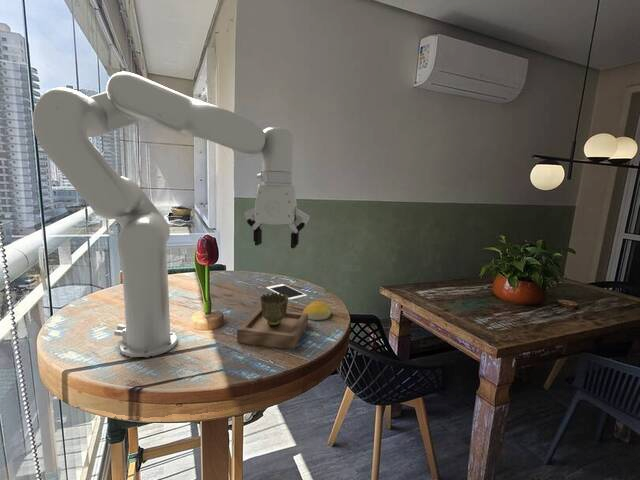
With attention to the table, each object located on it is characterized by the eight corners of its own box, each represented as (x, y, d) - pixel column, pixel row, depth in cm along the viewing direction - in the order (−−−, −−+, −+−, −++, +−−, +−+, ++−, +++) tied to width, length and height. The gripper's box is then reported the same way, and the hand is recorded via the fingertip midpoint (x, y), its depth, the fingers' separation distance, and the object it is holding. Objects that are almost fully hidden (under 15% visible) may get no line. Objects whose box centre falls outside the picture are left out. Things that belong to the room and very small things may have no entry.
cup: (261, 318, 96) (261, 291, 95) (287, 318, 97) (288, 292, 96) (259, 330, 89) (259, 301, 88) (287, 330, 90) (288, 302, 88)
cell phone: (282, 285, 136) (282, 283, 136) (307, 296, 124) (307, 295, 124) (265, 288, 131) (265, 287, 131) (290, 301, 119) (290, 299, 119)
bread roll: (299, 318, 104) (299, 306, 104) (310, 308, 112) (311, 297, 112) (324, 323, 101) (325, 310, 101) (334, 313, 109) (335, 301, 109)
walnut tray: (237, 344, 88) (237, 329, 87) (258, 321, 102) (258, 307, 101) (293, 352, 85) (294, 336, 84) (307, 327, 99) (307, 313, 99)
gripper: (238, 177, 84) (238, 246, 87) (307, 180, 81) (304, 251, 84) (250, 178, 91) (250, 241, 94) (313, 180, 88) (311, 246, 91)
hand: (275, 245), depth 89 cm, fingers open, 9 cm apart
